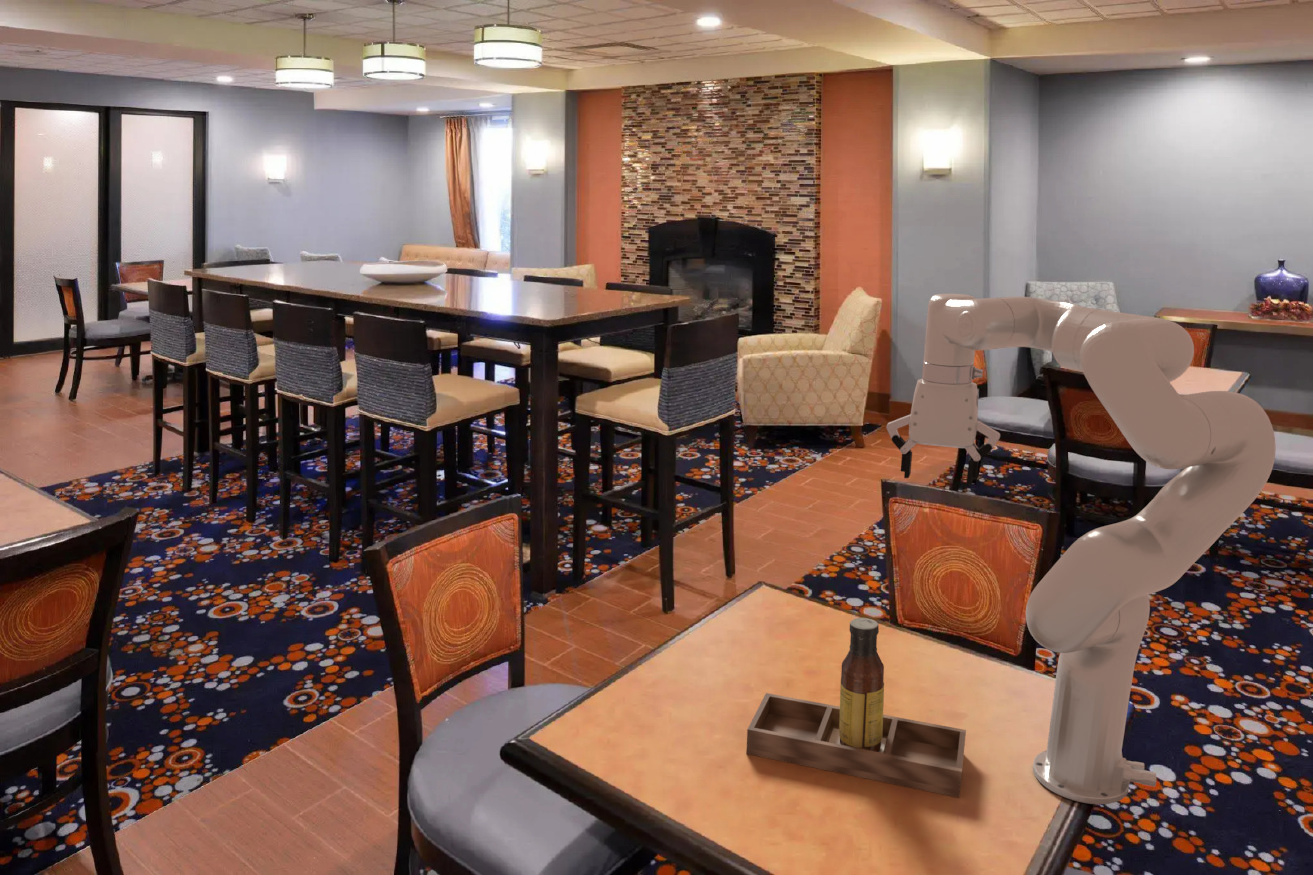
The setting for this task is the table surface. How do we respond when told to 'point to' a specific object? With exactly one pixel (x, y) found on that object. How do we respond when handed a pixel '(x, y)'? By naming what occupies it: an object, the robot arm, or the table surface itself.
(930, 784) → the walnut rack
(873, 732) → the sauce bottle
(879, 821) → the table surface
